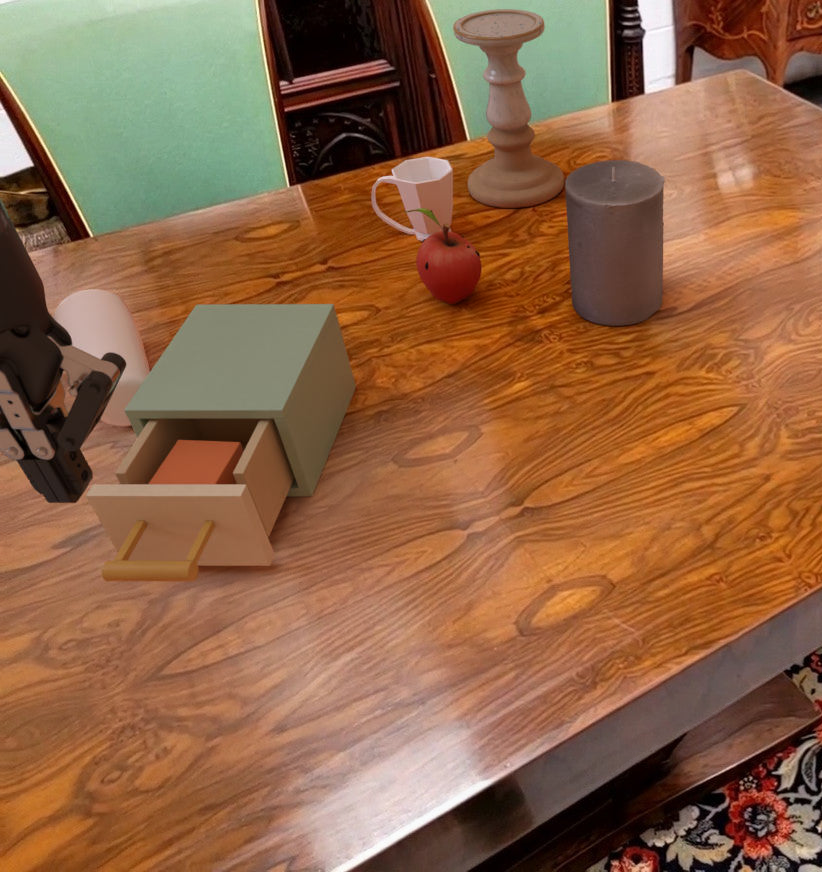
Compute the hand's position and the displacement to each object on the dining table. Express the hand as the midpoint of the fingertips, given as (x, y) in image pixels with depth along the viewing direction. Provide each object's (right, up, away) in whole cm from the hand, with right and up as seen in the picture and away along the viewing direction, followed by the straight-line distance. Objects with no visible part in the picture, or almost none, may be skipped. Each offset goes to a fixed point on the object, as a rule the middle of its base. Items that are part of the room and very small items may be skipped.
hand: (70, 493), depth 55 cm
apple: (+14, +18, +45) cm, 50 cm away
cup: (+8, +27, +56) cm, 62 cm away
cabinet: (+1, +3, +28) cm, 28 cm away
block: (0, -2, +18) cm, 18 cm away
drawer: (0, -4, +18) cm, 19 cm away
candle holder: (+18, +35, +64) cm, 76 cm away
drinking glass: (-11, +6, +27) cm, 30 cm away
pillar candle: (+32, +17, +44) cm, 57 cm away
